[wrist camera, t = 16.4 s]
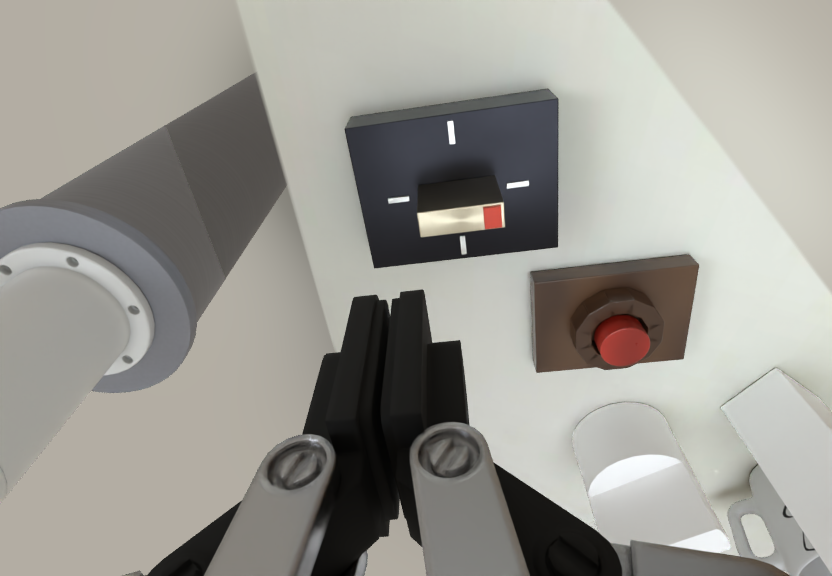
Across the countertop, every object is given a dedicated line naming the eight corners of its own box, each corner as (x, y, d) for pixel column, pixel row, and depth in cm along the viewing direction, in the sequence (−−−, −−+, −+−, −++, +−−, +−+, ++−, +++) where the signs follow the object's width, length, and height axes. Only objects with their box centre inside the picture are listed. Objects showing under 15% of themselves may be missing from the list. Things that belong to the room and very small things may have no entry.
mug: (723, 518, 56) (775, 617, 47) (695, 476, 52) (746, 574, 44) (835, 480, 52) (915, 579, 44) (814, 432, 49) (895, 529, 40)
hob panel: (377, 249, 39) (374, 269, 37) (350, 116, 34) (343, 129, 31) (549, 228, 38) (558, 248, 35) (548, 88, 33) (559, 98, 30)
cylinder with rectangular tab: (645, 387, 46) (706, 506, 36) (682, 444, 50) (747, 566, 40) (555, 427, 49) (588, 547, 39) (596, 478, 53) (637, 600, 43)
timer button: (593, 354, 40) (599, 368, 39) (594, 316, 38) (601, 330, 37) (640, 349, 40) (648, 364, 39) (644, 311, 38) (652, 325, 37)
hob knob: (421, 208, 34) (420, 239, 30) (418, 185, 33) (416, 214, 29) (496, 198, 34) (506, 229, 30) (495, 175, 33) (504, 203, 29)
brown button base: (532, 360, 45) (540, 387, 42) (530, 271, 40) (538, 295, 37) (675, 346, 44) (693, 374, 41) (689, 253, 39) (711, 277, 36)
